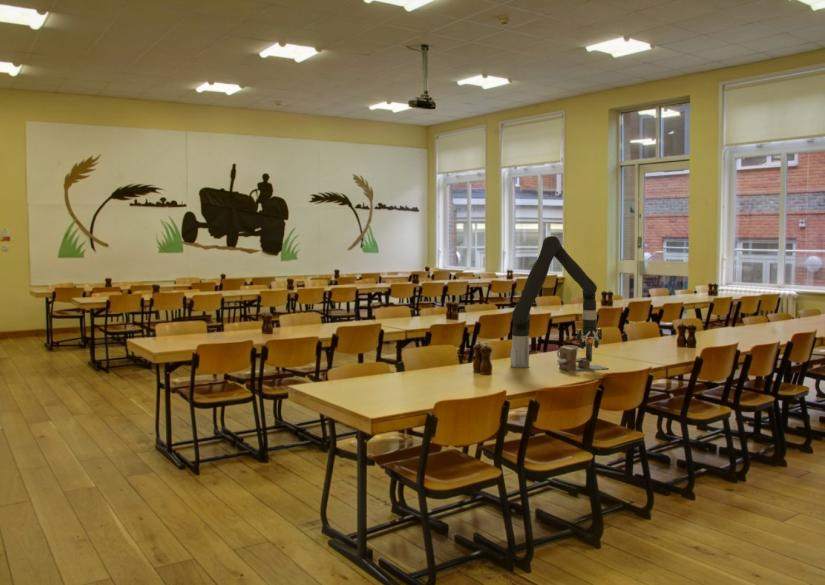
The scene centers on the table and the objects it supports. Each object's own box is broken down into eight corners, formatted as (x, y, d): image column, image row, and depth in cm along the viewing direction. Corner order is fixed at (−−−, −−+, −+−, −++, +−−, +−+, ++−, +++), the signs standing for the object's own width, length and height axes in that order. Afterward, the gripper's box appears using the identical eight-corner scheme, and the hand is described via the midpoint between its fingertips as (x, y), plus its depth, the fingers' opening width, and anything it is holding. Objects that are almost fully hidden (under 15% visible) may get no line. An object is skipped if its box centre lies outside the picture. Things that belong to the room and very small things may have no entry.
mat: (569, 371, 382) (569, 370, 382) (559, 368, 393) (559, 367, 393) (608, 369, 390) (608, 368, 390) (597, 365, 400) (597, 364, 400)
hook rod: (559, 364, 384) (559, 339, 383) (555, 363, 388) (556, 338, 387) (593, 361, 391) (594, 337, 390) (589, 360, 394) (590, 337, 393)
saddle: (583, 369, 388) (583, 360, 388) (578, 368, 393) (578, 359, 393) (589, 369, 389) (589, 360, 389) (584, 367, 394) (584, 358, 394)
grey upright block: (569, 371, 383) (569, 349, 382) (559, 368, 392) (559, 346, 391) (575, 371, 384) (576, 348, 383) (566, 368, 393) (566, 346, 393)
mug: (573, 365, 401) (574, 347, 400) (553, 363, 409) (553, 345, 408) (580, 363, 408) (580, 346, 407) (559, 361, 415) (559, 344, 415)
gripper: (581, 319, 384) (581, 349, 386) (604, 318, 389) (604, 348, 390) (574, 318, 391) (574, 347, 393) (597, 317, 396) (596, 346, 397)
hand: (589, 348), depth 391 cm, fingers open, 8 cm apart
